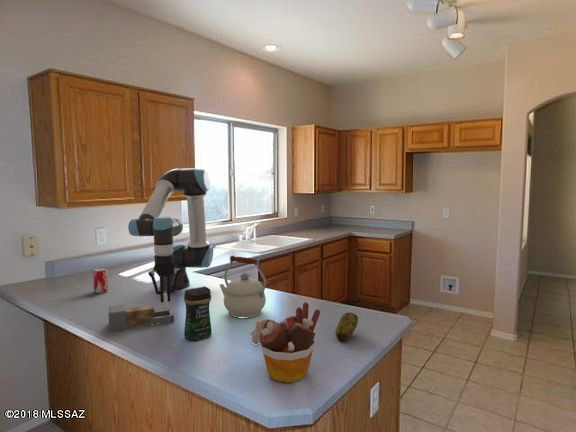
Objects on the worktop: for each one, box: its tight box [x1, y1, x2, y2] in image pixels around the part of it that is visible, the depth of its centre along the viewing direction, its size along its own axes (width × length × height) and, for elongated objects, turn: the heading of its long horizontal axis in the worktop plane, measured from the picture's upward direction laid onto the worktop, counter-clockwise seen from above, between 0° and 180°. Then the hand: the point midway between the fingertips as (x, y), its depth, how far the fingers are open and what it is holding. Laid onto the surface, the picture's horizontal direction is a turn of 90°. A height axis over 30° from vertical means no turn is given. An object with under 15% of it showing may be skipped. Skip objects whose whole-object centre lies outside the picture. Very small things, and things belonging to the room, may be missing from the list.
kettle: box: [219, 255, 267, 319], centre depth 165 cm, size 25×18×25 cm
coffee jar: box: [183, 285, 213, 342], centre depth 139 cm, size 10×8×19 cm
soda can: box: [92, 267, 109, 294], centre depth 196 cm, size 7×7×12 cm
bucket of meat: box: [255, 301, 321, 384], centre depth 112 cm, size 20×16×20 cm
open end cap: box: [149, 308, 175, 325], centre depth 157 cm, size 9×9×2 cm
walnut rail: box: [125, 304, 155, 327], centre depth 153 cm, size 14×4×6 cm, turn 116°
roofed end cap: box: [108, 303, 127, 332], centre depth 150 cm, size 6×9×7 cm
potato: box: [335, 312, 359, 342], centre depth 140 cm, size 8×13×8 cm, turn 135°
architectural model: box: [248, 325, 261, 345], centre depth 136 cm, size 3×7×7 cm, turn 145°
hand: (165, 309), depth 157 cm, fingers closed
